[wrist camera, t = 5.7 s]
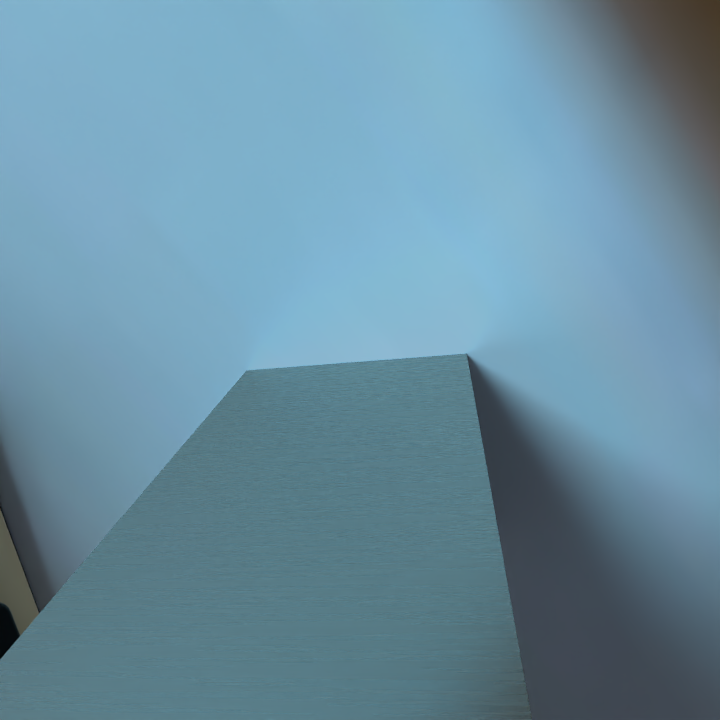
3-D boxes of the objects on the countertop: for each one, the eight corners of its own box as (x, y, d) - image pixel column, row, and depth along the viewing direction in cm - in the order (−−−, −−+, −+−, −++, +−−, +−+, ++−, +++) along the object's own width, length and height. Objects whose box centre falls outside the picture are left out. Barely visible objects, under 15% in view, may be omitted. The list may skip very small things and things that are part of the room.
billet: (466, 354, 10) (571, 945, 3) (479, 546, 11) (573, 1315, 4) (246, 370, 11) (-196, 889, 3) (282, 551, 12) (28, 1227, 4)
